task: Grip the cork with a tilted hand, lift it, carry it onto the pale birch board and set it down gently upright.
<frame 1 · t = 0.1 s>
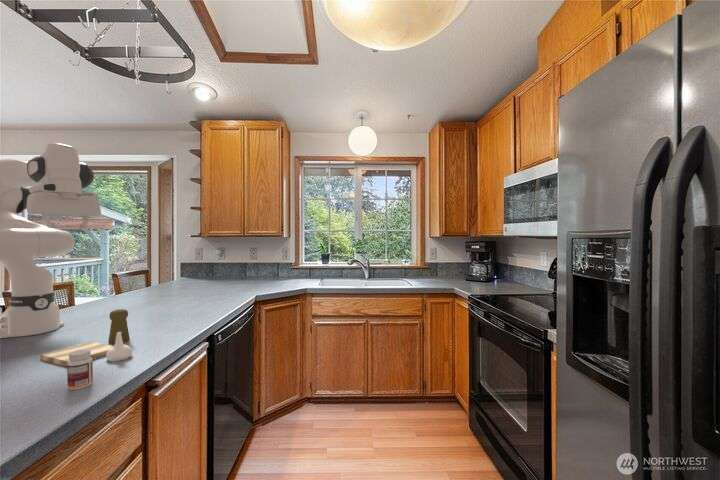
hand: (68, 228, 115), 39 cm above the countertop, tool pointing down, fingers open, 8 cm apart
birch board: (80, 355, 100), on the countertop
cork: (119, 342, 113), on the countertop
pill bottle: (80, 386, 80), on the countertop
garlic bulb: (119, 359, 98), on the countertop
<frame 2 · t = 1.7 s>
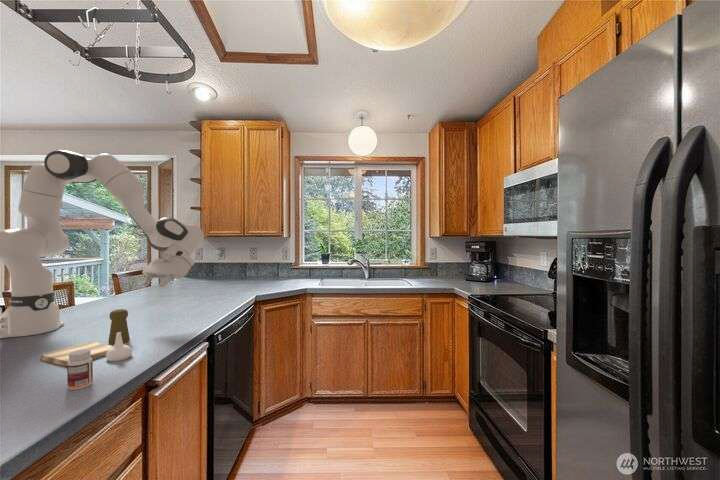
hand: (152, 285, 124), 18 cm above the countertop, tool tilted 45°, fingers open, 8 cm apart
nothing on the countertop moved.
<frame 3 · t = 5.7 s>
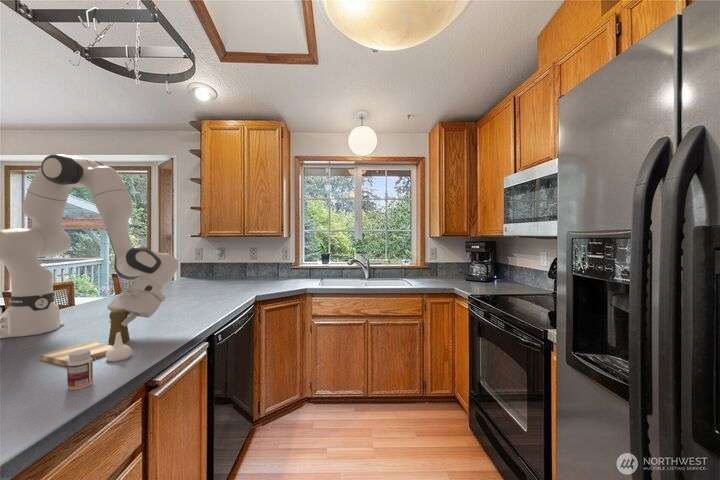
hand: (116, 324, 113), 6 cm above the countertop, tool tilted 45°, fingers closed on cork, 4 cm apart
cork: (119, 342, 113), on the countertop, touching gripper
everything else where it was.
when the fingers open (9 cm above the countertop, at t = 10.8 s): cork drops 1 cm, resting on birch board.
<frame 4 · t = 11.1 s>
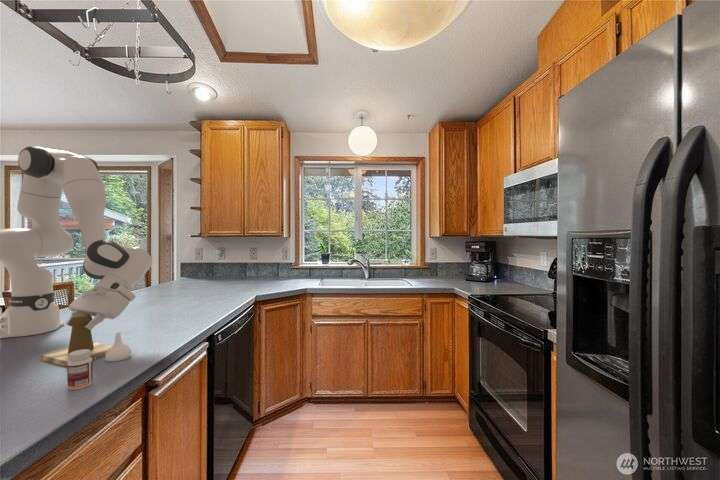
hand: (77, 326, 99), 9 cm above the countertop, tool tilted 45°, fingers open, 8 cm apart
cork: (81, 351, 100), point 1 cm above the countertop, touching birch board
everything else where it was.
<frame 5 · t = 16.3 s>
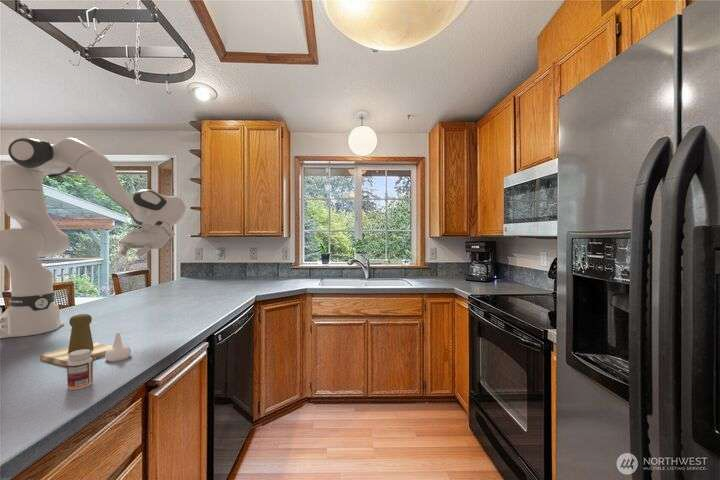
hand: (129, 255, 120), 29 cm above the countertop, tool tilted 45°, fingers open, 8 cm apart
nothing on the countertop moved.
at the end: cork inside the target area on the birch board (0.1 cm from its centre), point 1.3 cm above the birch board's base; cork tilted 0°; the gripper is holding nothing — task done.
